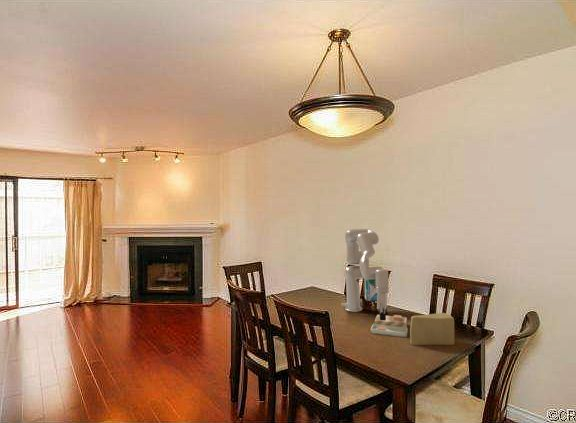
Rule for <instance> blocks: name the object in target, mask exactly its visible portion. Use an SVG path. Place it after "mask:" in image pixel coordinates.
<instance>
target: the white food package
mask: <svg viewBox="0 0 576 423" xmlns="http://www.w3.org/2000/svg"><path fill="white" fill-rule="evenodd" d="M393 317H394V315H386V320H380V314H376V317H375V319H374V324H379V325H389V326H399V327H408V317H406V316H402V320H401V321H395V320H394V319H393Z"/></svg>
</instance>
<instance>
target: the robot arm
mask: <svg viewBox="0 0 576 423" xmlns="http://www.w3.org/2000/svg"><path fill="white" fill-rule="evenodd" d="M344 238H345V239H344V240H345V242H346V244H345V245H346V262H347V264H348V265H350V266H347V267H346V268H344V276H345V287H346V302H341V304H340V305H341V306H342V307H344V310H345V311H347V312H351V313H352V312H354V313H357V312H362V311H363V307H362V306H361V298H360V297H361V294H360V293H361V292H360V284H359V282H358V280H361V279H363V280H364V279H367V280H370V279H376V292H377V301H376V309H377V310H379V315H380V320H386V316H387V315H386V309H387V306H388V296H387V295H388V293H390V292H389V286H390V285H389V271H388V269H386V268H384V267H382V266H371V267H370V258H371V257H373V256H374V255H375V253H376V250H375V248H374V246H373V245H377V244H378V243H379V240H380V239H379V235H378V234H377V232H375V231H373V230H371V229H368V228H365V229H364V228H362V229H361V228H360V229H359V228H353V229H348V230H347V231H345V235H344Z"/></svg>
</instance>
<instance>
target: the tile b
mask: <svg viewBox="0 0 576 423" xmlns="http://www.w3.org/2000/svg"><path fill="white" fill-rule="evenodd" d="M393 316H394V317H393V319H394V320H395V321H401V320H402V317H403V316H402V315H399V314H393Z"/></svg>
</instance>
